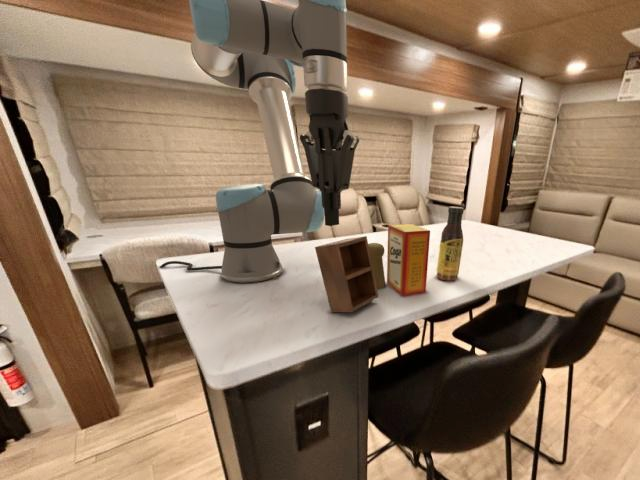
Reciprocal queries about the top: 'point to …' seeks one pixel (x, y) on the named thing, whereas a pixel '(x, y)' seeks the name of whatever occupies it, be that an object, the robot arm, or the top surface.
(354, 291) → the walnut shelf
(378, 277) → the cork
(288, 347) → the top surface
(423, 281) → the baking soda box
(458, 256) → the sauce bottle
